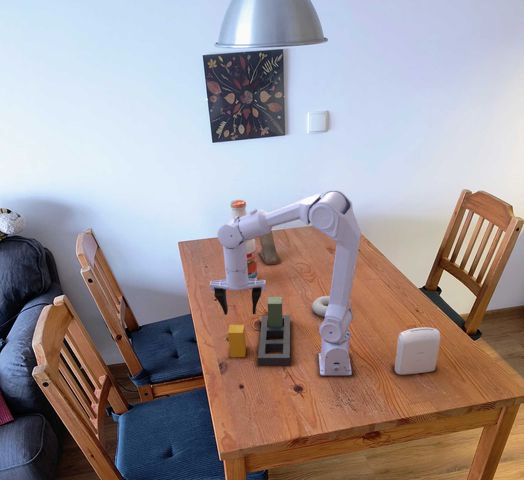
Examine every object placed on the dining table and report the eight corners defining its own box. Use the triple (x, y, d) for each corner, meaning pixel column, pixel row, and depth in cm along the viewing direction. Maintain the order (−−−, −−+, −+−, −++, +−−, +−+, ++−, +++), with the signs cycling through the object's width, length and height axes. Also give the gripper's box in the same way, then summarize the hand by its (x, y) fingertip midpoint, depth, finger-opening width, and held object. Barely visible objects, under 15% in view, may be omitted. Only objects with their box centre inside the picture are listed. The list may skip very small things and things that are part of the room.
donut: (310, 318, 146) (343, 320, 144) (310, 308, 144) (344, 310, 142) (314, 302, 154) (345, 303, 152) (314, 293, 152) (346, 294, 150)
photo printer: (397, 376, 121) (403, 336, 114) (391, 366, 125) (397, 326, 118) (436, 372, 122) (445, 332, 115) (430, 362, 125) (438, 322, 118)
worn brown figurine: (260, 259, 189) (254, 212, 181) (273, 257, 189) (269, 210, 182) (265, 265, 178) (260, 216, 171) (280, 263, 178) (275, 213, 171)
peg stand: (289, 365, 127) (289, 357, 126) (258, 365, 128) (257, 357, 126) (290, 322, 145) (290, 315, 143) (262, 322, 145) (262, 315, 144)
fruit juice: (241, 273, 174) (235, 195, 157) (262, 279, 169) (258, 199, 153) (225, 284, 167) (217, 204, 151) (247, 290, 163) (241, 208, 147)
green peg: (282, 333, 140) (281, 303, 134) (268, 333, 140) (267, 303, 134) (282, 326, 143) (282, 296, 137) (269, 326, 144) (268, 296, 138)
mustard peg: (244, 357, 131) (242, 332, 127) (230, 357, 132) (227, 332, 127) (246, 348, 134) (244, 324, 130) (231, 348, 135) (229, 324, 130)
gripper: (265, 259, 125) (267, 304, 133) (210, 260, 126) (215, 305, 134) (264, 271, 120) (266, 318, 127) (206, 272, 121) (212, 318, 128)
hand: (240, 312), depth 130 cm, fingers open, 7 cm apart
